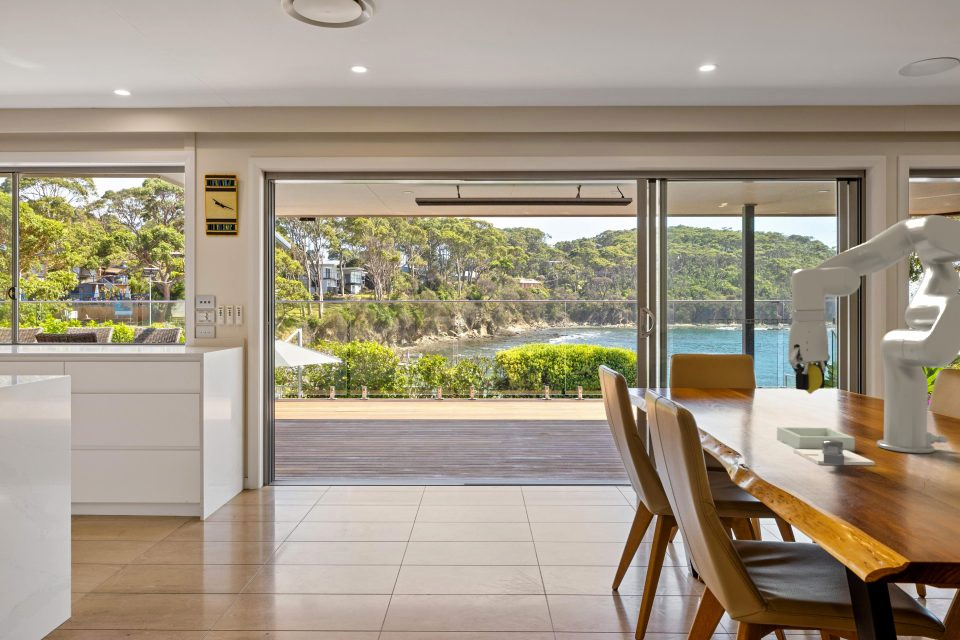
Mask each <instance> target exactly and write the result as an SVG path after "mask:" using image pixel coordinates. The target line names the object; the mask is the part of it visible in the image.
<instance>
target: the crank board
mask: <svg viewBox="0 0 960 640" xmlns="http://www.w3.org/2000/svg"><path fill="white" fill-rule="evenodd" d="M793 453H794V454H797V455H798V456H801V457H802V458H804V459H806V460H809V461H810V462H812V463H814V464H817V465H822V466H823V465H827V466H828V465H829V466H831V465H833V466H834V465H835V466H836V465H838V464H828V463H824V454H823V453H822V450H819V449H796V448H794V449H793ZM843 454H844V465H843V466H875V465H876V463H875V461H873V460H871V459H869V458H866V457H864V456H861V455H859V454H856V453H855V452H853V451H847V450H843ZM838 466H839V465H838Z"/></svg>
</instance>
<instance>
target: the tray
mask: <svg viewBox="0 0 960 640" xmlns="http://www.w3.org/2000/svg"><path fill="white" fill-rule="evenodd" d="M776 439H777V440H778V441H779V442H781V443H784V444H785V445H788V446H789V447H791V448H794V449H819V450H822V440H837V441H841V442H843V450H847V451H850V452H855V451H856V449H855V446H856V444H855V443H856V442H855V441H856V440H855V439H856V437H855V436H852V435H850V434H846V433H843V432H840V431H837V430H835V429H832V428H830V427H812V426H811V427H810V426H809V427H808V426H807V427H803V426H799V427H796V426H792V427H790V426H777V427H776Z"/></svg>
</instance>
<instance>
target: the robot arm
mask: <svg viewBox="0 0 960 640" xmlns="http://www.w3.org/2000/svg"><path fill="white" fill-rule="evenodd" d="M914 252H917V256H918V258H919V260H920V264H921V267H922V271H923V272H922V273H923V277H922V280H921V282H920V284H919V286H918V287H917V289H916V291H915V293H914V295H913V296H912V298H911V300H910V302H909V304H908V305H907V308H906V309H905V313H904V321H905V323H906V324H907V325H908V326H909V327H911V328H898V329H893V330H892V329H891V331H888V332H887V333H886V334H884V335H883V336H882V339H881V340H880V344H879V346H880V347H879V348H880V349H879V350H880V355H881V359H882V363H883V373H884V374H883V375H884V376H883V377H884V378H883V379H884V382H883V383H884V388H883V389H884V390H883V392H884V393H883V395H884V396H883V397H884V400H883V401H884V402H883V439H879V440H877V441H876V446H877V447H879V448H882V449H884V450H890V451H893V452H901V453H911V454H912V453H913V454H931V453H933V452H934V451H935V446H933V444H935V443H938V444H943V443H944V444H946V443H947V441H948V438H947V436H946V435H944V434H943V435H935V434H932V432H928V392H929V391H928V390H929V388H928V387H929V384H928V378H927V375H926V373H925V371H924V370H923V368H934V369H935V368H936V369H938V368H945V367H947V366H949V365H950V364H951V363H953V362H954V361H955V359H956V358H957V356H958V354H959V353H960V294H959V291H960V276H959V274H958V271H957V269H956V268H955V267H954V266H955V265H954V263H955V262H960V220H957V219H955V218H950V217H948V216H945V215H944V216H943V215H938V214H937V215H935V214H931V215H925V216H920V217H911V218H907V219H903V220H900V221H898V222H896V223H895V224H893V225H892V226H890V227H889V228H887V229H885V230H883V231H882V232H880V233H879V234H877V235H876V236H874V237H872V238H870V239H869V240H867V241H866V242H863V243H861V244H859V245H857V246H854V247H851V248H850V249H848V250H845V251H843V252H840V253H837V254H835V255H833V256H831V257H828V258H827V259H826V260H823V261H822V262H820V263H819V264H817V265H815V266H814V267H812V268H811V267H810V268H799V269H795V270H794V271H792V275H791V299H792V300H791V302H792V303H791V304H792V305H791V307H792V308H791V309H792V310H791V311H792V312H791V313H792V323H791V325H790V328H789V337H788V363H789V364H790V366H791V367H792V369H793V373H794V374H795V389H796V390H802V391H806V390H809V374H806V373H807V369H808V364H809V363H812V364H814V365H816V366H817V367H818V368H819V369H820V371H821V373H822V384H821V386H820V388H819V389H824V388H825V387H826V386H825V372H826V371H827V368H826V367H827V366H828V363H829V362H830V359H831V356H830V354H829V338H828V336H829V335H828V328H827V324H826V323H827V310H826V309H827V306H826V305H827V302H826V298H829V297H830V298H831V297H832V298H834V297H835V298H836V297H838V298H839V297H848V296H850V295H852V294H855V293H856V292H857V290H859V288H860V286H861V277H863V276H866V275H867V276H868V275H872V274H876V273H879V272H882V271H885V270H887V269H889V268H890V267H892V266H894V265H895V264H896V263H898V262H899V261H901V260H903V259H905V258H906V257H908V256H910V255H911V254H912V253H914ZM802 366H803V367H802ZM922 367H923V368H922Z"/></svg>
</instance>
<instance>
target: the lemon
mask: <svg viewBox="0 0 960 640" xmlns="http://www.w3.org/2000/svg"><path fill="white" fill-rule="evenodd" d="M801 366H802V367H803V365H801ZM806 374H809V390H805V391H806V392H807V394H809V395H810V394H813V393H814V392H815V391H817V390H819V389H821V388H820V386H821V384H822V373H821V371H820V369H819V368H818V367H817V366H816V365H814V364H812V363H811V362H810V363H809V364H808V369H807V373H806Z"/></svg>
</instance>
